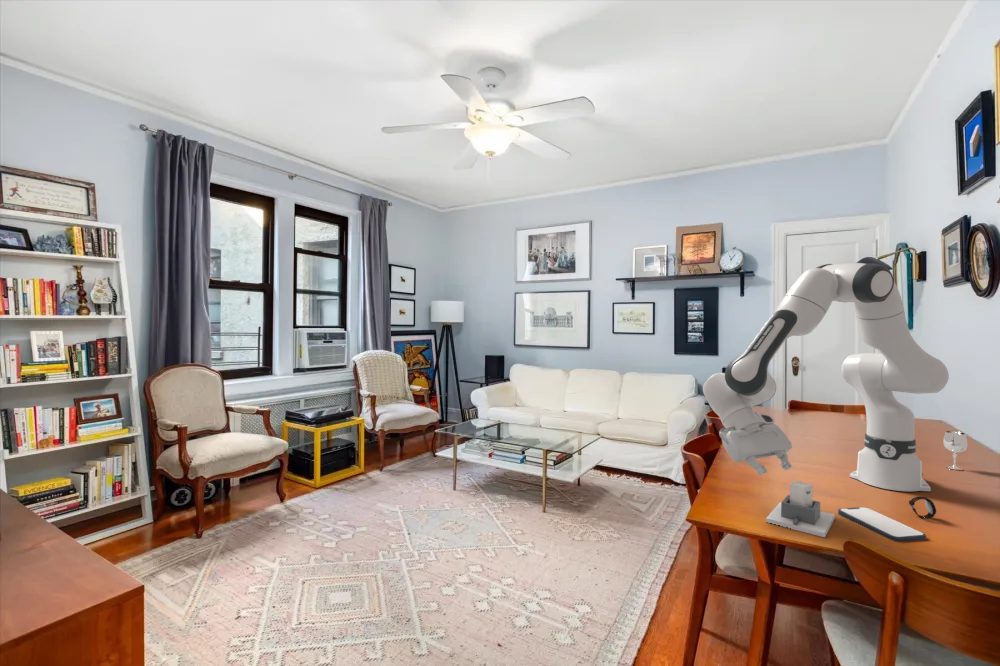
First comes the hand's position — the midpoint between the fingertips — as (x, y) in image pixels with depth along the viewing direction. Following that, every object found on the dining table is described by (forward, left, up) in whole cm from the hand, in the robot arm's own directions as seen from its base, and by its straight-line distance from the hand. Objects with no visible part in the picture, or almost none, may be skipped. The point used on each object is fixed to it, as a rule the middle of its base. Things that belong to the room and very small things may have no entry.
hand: (776, 471), depth 124 cm
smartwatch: (-20, +28, -10) cm, 36 cm away
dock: (+3, +6, -10) cm, 12 cm away
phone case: (-7, +21, -11) cm, 24 cm away
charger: (+3, +6, -9) cm, 11 cm away
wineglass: (-78, +35, -10) cm, 86 cm away
